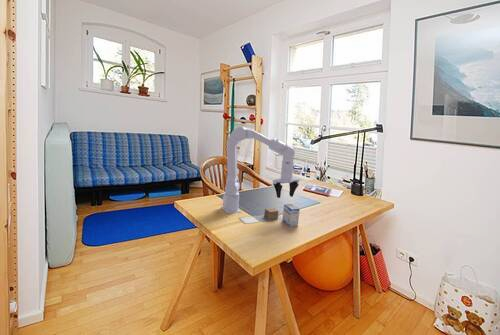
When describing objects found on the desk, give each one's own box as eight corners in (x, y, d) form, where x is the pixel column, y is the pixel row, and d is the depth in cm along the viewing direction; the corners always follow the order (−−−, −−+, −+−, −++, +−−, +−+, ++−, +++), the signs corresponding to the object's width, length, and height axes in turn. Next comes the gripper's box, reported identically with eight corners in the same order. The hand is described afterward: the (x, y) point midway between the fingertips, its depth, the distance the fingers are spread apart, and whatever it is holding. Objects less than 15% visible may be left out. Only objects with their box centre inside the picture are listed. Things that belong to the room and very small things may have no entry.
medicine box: (282, 221, 134) (283, 204, 132) (290, 220, 136) (291, 203, 134) (289, 227, 127) (291, 209, 125) (298, 226, 128) (299, 208, 127)
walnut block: (264, 216, 138) (264, 208, 138) (272, 214, 141) (273, 207, 140) (269, 219, 134) (269, 211, 133) (277, 218, 136) (278, 210, 135)
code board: (237, 218, 133) (237, 218, 133) (274, 214, 143) (274, 213, 143) (244, 224, 126) (244, 224, 126) (282, 219, 136) (282, 219, 136)
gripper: (278, 172, 129) (276, 200, 132) (303, 171, 136) (301, 197, 138) (271, 169, 135) (269, 196, 138) (295, 168, 142) (293, 194, 144)
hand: (284, 196), depth 138 cm, fingers open, 7 cm apart
